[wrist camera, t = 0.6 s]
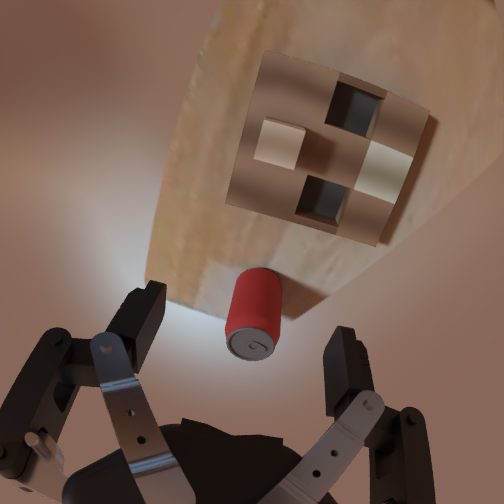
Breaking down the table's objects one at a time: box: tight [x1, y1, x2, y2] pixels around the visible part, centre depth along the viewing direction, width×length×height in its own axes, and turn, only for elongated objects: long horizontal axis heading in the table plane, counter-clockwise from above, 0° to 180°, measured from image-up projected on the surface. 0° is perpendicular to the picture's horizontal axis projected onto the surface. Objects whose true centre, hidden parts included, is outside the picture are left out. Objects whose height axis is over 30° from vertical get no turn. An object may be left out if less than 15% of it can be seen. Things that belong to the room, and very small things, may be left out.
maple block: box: [253, 116, 306, 170], centre depth 30 cm, size 4×4×4 cm
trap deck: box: [225, 50, 430, 247], centre depth 33 cm, size 18×19×3 cm
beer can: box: [225, 268, 282, 361], centre depth 40 cm, size 7×7×12 cm
